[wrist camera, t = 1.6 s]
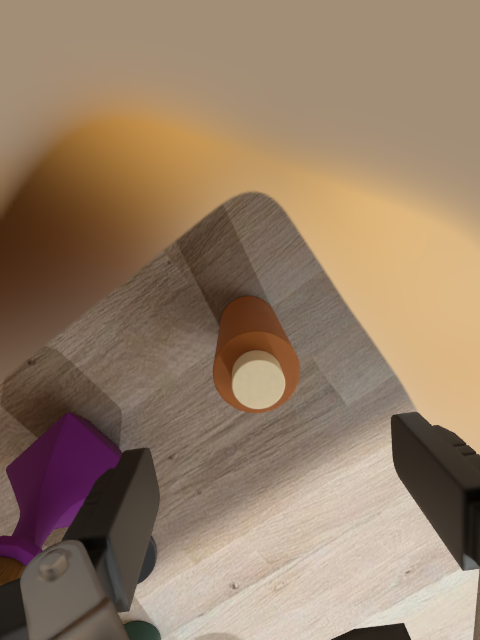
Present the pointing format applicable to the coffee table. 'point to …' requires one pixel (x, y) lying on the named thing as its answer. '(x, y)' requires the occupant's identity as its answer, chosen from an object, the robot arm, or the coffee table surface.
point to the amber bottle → (254, 357)
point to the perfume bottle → (53, 486)
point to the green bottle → (141, 631)
